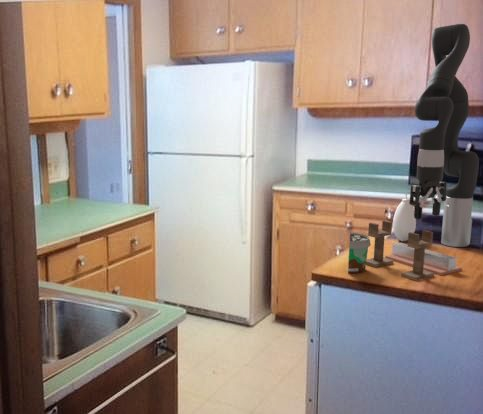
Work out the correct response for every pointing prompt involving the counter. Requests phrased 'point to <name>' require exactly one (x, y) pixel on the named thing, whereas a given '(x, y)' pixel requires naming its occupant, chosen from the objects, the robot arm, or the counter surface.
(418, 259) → the cradle stands
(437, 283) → the counter surface
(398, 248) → the steel rail
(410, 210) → the sauce bottle
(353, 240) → the food container
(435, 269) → the rust mat
